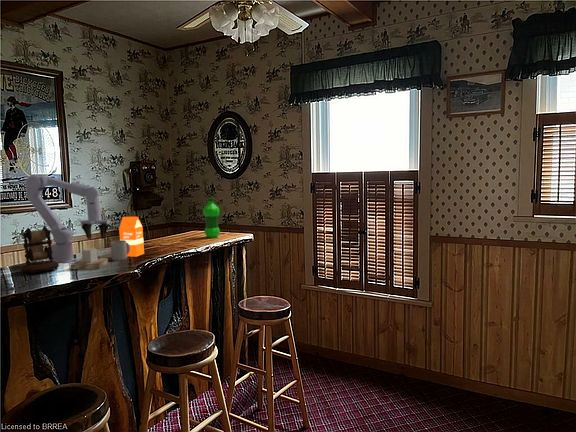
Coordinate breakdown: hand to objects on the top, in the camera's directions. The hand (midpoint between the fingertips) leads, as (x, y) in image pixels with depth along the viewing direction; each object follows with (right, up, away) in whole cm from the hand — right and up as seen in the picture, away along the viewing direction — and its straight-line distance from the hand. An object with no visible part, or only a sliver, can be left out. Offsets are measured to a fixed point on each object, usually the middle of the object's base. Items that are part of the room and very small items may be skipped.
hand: (96, 238), depth 212 cm
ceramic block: (+4, -10, -14) cm, 18 cm away
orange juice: (+15, -9, +10) cm, 20 cm away
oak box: (+4, -13, -14) cm, 20 cm away
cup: (+12, -10, +1) cm, 16 cm away
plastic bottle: (+47, -3, +59) cm, 76 cm away
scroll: (-16, -14, -21) cm, 29 cm away
